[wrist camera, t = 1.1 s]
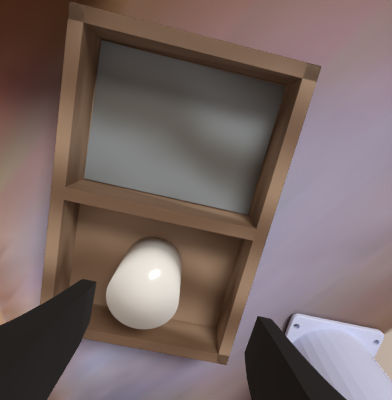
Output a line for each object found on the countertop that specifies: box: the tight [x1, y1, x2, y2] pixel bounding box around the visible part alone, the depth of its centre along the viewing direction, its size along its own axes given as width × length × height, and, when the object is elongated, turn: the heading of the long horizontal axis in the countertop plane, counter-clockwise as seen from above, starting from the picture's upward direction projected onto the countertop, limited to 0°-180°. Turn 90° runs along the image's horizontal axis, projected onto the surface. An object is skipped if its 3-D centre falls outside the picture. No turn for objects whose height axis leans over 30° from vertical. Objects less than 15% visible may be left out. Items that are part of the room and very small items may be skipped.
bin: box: [40, 1, 321, 365], centre depth 19 cm, size 20×14×4 cm, turn 167°
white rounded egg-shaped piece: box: [106, 237, 182, 329], centre depth 19 cm, size 4×4×4 cm
